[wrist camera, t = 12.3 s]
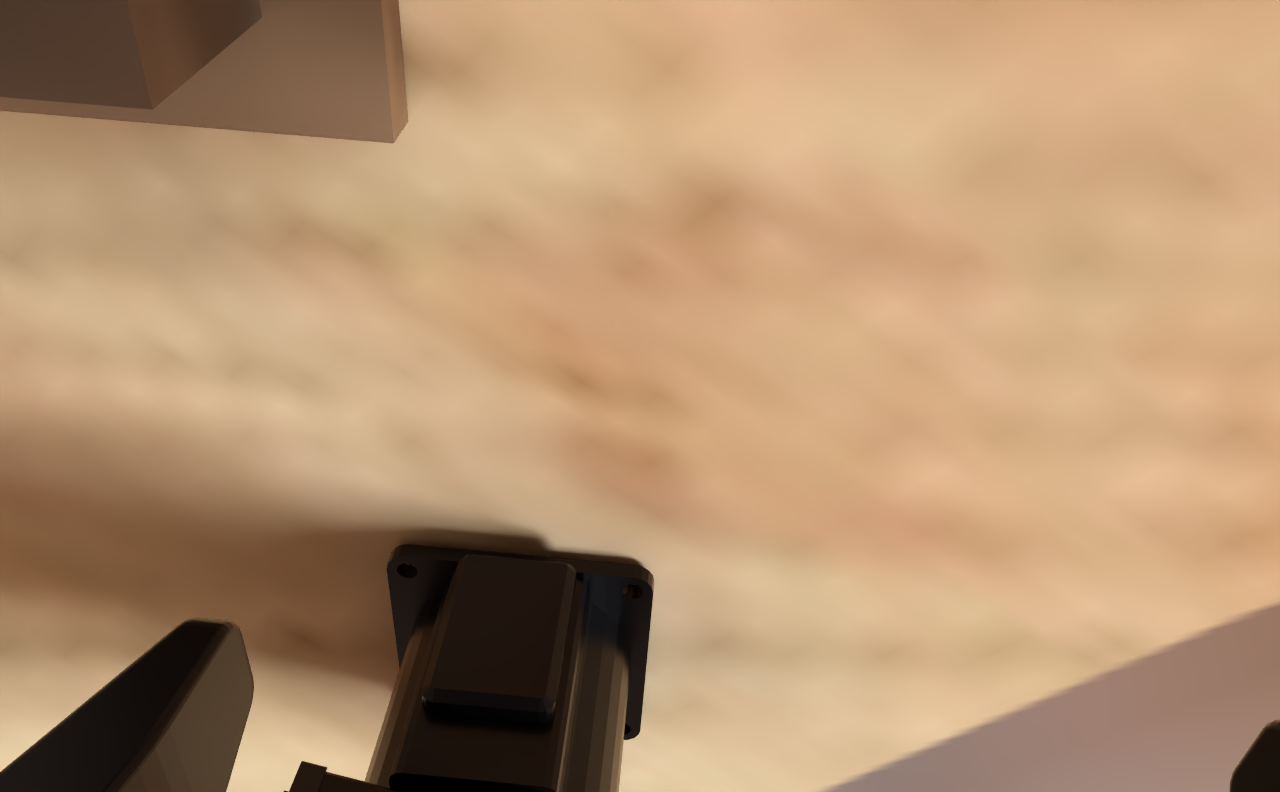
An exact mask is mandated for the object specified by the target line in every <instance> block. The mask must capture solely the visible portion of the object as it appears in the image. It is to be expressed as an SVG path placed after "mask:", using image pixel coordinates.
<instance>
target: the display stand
mask: <svg viewBox="0 0 1280 792" xmlns="http://www.w3.org/2000/svg"><path fill="white" fill-rule="evenodd" d="M0 111H12V112H24V113H36V114H48V115H60V116H72V117H84V118H96V119H108V120H120V121H132V122H144V123H156V124H168V125H180V126H192V127H204V128H216V129H228V130H240V131H252V132H264V133H276V134H288V135H300V136H312V137H324V138H336V139H348V140H360V141H372V142H384V143H394V142H395V141H396V139H397V138H398V136H399V134H400V133H401V131H402V130H403V128H404V127H405V125H406V124H407V122H408V114H407V102H406V89H405V77H404V65H403V53H402V40H401V28H400V16H399V3H398V0H0Z"/></svg>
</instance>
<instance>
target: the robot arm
mask: <svg viewBox="0 0 1280 792" xmlns="http://www.w3.org/2000/svg"><path fill="white" fill-rule="evenodd" d="M405 563H407V564H410V565H413V566H409V565H406V564H405ZM387 574H388V581H389V589H390V597H391V605H392V612H393V620H394V628H395V636H396V643H397V651H398V659H399V667H400V671H399V674H398V677H397V680H396V683H395V687H394V690H393V693H392V696H391V699H390V702H389V706H388V709H387V712H386V715H385V718H384V721H383V725H382V728H381V731H380V734H379V737H378V740H377V744H376V747H375V750H374V753H373V756H372V759H371V762H370V766H369V769H368V772H367V775H366V778H365V781H360V780H356V779H352V778H348V777H344V776H341V775H337V774H333V773H329V772H326V770H327V767H324V766H320V765H316V764H312V763H308V762H304V761H302V762H301V764H300V766H299V769H298V771H297V774H296V776H295V779H294V781H293V783H292V786H291V788H290V791H289V792H619V781H620V771H621V761H622V750H623V740H628V739H632V738H635V737H636V736H637V735H638V734H639V732H640V726H641V715H642V705H643V694H644V684H645V673H646V663H647V652H648V642H649V631H650V620H651V610H652V599H653V588H654V579H653V575H652V574H651V573H650V571H649V570H647V569H645V568H643V567H640V566H636V565H627V564H616V563H605V562H594V561H584V560H573V559H562V558H551V557H540V556H529V555H518V554H507V553H496V552H486V551H475V550H464V549H453V548H442V547H431V546H420V545H401V546H398V547H396V548H395V549H394V550H393V551H392V553H391V556H390V559H389V562H388V565H387ZM631 584H634V585H637V586H636V587H632V586H629V585H631ZM253 690H254V682H253V676H252V672H251V668H250V664H249V660H248V657H247V653H246V649H245V645H244V642H243V638H242V634H241V631H240V629H239V627H238V626H237V625H236V624H235V623H234V622H232V621H229V620H218V619H208V618H191V619H188V620H186V621H184V622H182V623H181V624H180V625H178V626H177V627H176V628H175V629H173V630H172V631H171V632H170V633H168V634H167V635H166V636H165V637H164V638H162V639H161V640H160V641H159V642H158V643H156V644H155V645H154V646H153V647H152V648H150V649H149V650H148V651H147V652H145V653H144V654H143V655H142V656H141V657H139V658H138V659H137V660H136V661H135V662H133V663H132V664H131V665H130V666H128V667H127V668H126V669H125V670H124V671H122V672H121V673H120V674H119V675H118V676H116V677H115V678H114V679H113V680H111V681H110V682H109V683H108V684H107V685H105V686H104V687H103V688H102V689H101V690H99V691H98V692H97V693H96V694H94V695H93V696H92V697H91V698H90V699H88V700H87V701H86V702H85V703H84V704H82V705H81V706H80V707H79V708H77V709H76V710H75V711H74V712H73V713H71V714H70V715H69V716H68V717H67V718H65V719H64V720H63V721H62V722H60V723H59V724H58V725H57V726H56V727H54V728H53V729H52V730H51V731H50V732H48V733H47V734H46V735H45V736H43V737H42V738H41V739H40V740H39V741H37V742H36V743H35V744H34V745H33V746H31V747H30V748H29V749H28V750H26V751H25V752H24V753H23V754H22V755H20V756H19V757H18V758H17V759H16V760H14V761H13V762H12V763H11V764H9V765H8V766H7V767H6V768H5V769H3V770H2V771H1V772H0V792H226V790H227V786H228V783H229V779H230V776H231V773H232V769H233V766H234V762H235V759H236V756H237V752H238V749H239V745H240V742H241V739H242V735H243V732H244V728H245V725H246V721H247V718H248V715H249V711H250V708H251V704H252V699H253ZM284 792H288V791H284ZM1230 792H1280V720H1275V721H1273V722H1270V723H1268V724H1267V725H1266V726H1265V727H1264V728H1263V729H1262V731H1261V732H1260V734H1259V735H1258V736H1257V738H1256V739H1255V741H1254V742H1253V744H1252V745H1251V746H1250V748H1249V749H1248V751H1247V752H1246V754H1245V755H1244V757H1243V758H1242V759H1241V761H1240V762H1239V764H1238V765H1237V767H1236V768H1235V770H1234V772H1233V774H1232V778H1231V781H1230Z"/></svg>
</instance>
